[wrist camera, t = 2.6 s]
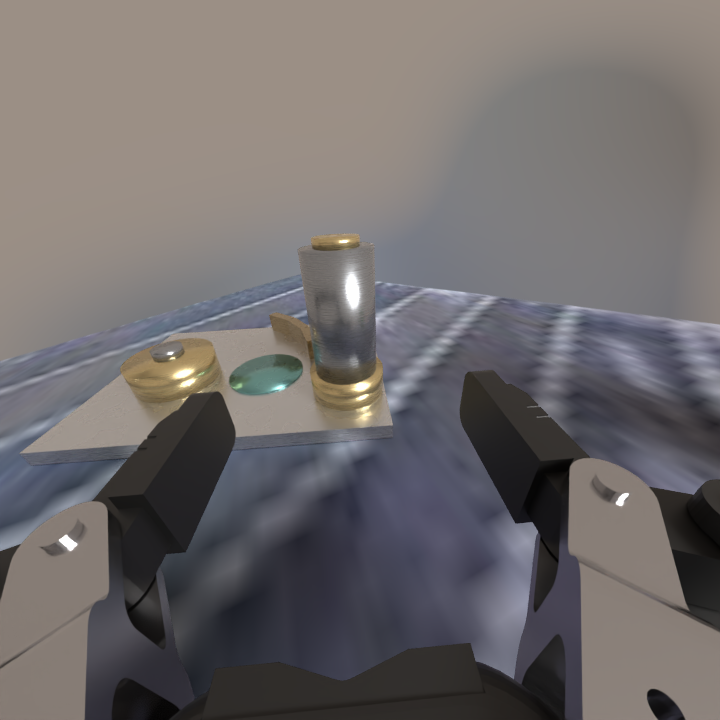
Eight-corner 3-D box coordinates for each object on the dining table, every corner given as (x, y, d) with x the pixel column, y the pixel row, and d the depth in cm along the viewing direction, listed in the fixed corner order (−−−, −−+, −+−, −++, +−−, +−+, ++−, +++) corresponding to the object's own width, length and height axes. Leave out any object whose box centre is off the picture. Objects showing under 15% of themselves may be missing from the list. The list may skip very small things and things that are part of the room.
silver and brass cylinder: (309, 413, 20) (278, 245, 14) (316, 371, 25) (295, 234, 19) (387, 407, 20) (388, 239, 14) (378, 367, 25) (376, 229, 19)
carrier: (31, 465, 19) (-18, 415, 16) (176, 342, 35) (162, 309, 33) (392, 437, 19) (393, 386, 17) (369, 329, 36) (368, 296, 33)
